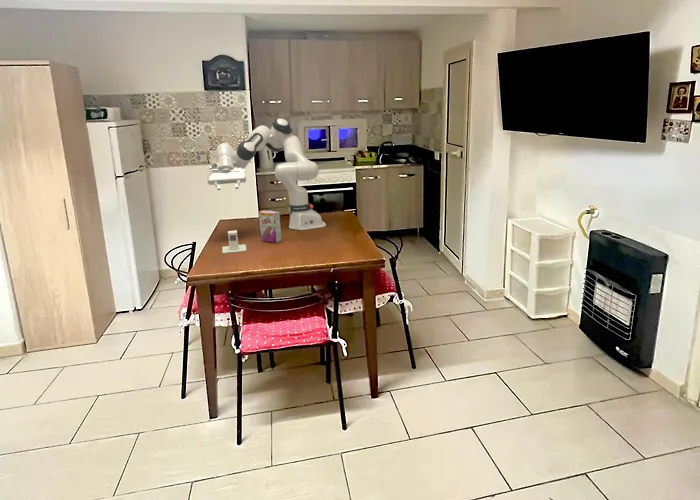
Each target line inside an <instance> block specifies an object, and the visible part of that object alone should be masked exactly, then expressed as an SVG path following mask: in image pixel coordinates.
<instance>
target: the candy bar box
mask: <svg viewBox="0 0 700 500" xmlns="http://www.w3.org/2000/svg"><path fill="white" fill-rule="evenodd" d="M257 213H258V221H259V222H258V223H259V233H260V241H261V242H267V243H275V244H277V243H279V242H282V239H283V238H282V229H281V217H280V216H281V215H280V211H272V210H261V211H258V212H257Z"/></svg>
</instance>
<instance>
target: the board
mask: <svg viewBox="0 0 700 500" xmlns="http://www.w3.org/2000/svg"><path fill="white" fill-rule="evenodd" d="M238 246H239V249H236V250H230V247H229V245H227V246H222V254H232V253H241V252H247V245H246V244H238Z"/></svg>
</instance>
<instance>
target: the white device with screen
mask: <svg viewBox="0 0 700 500" xmlns="http://www.w3.org/2000/svg"><path fill="white" fill-rule="evenodd" d="M227 236H228V244H229V245H228V246H229V247H230V250H236V249H239V246H238V245H239V240H238V239H239V238H238V230H237V229H235V230H229V231H227Z"/></svg>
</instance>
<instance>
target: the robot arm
mask: <svg viewBox="0 0 700 500" xmlns="http://www.w3.org/2000/svg"><path fill="white" fill-rule="evenodd" d="M292 133H293V129H292V128H291V124H290V123H289V121H288V120H287V119H285V118H283V117H278V118H275V119H274V121H273V123H272V126H271V128H269V127H268V126H267V125H259V126H257V127H255V128H254V129H253V130H252V131H251V132H250V133H249V135H248V136H247V138H246V140H245V141H241V142H240V143H239V144H238V146H237V147H236V149H234V148H233V147H232V146H231V144H230V143H229V142H223V143H220V144H218V145H217V147H216V150H215V151H216V152H215V155H216V156H215V157H216V161H217V162H216V163H213V164H211V165H209V166H208V171H207V179H206V180H207V183H208V185H210V186H212V185H214V187H215V188H216V190H217V191H221V186H220V185H226V184H227V185H228V184H235V190H239V187H240V184H241V183H246V182H247V176H246V172H247V171H246V167H247V166H248V165H249V164H250V162H251V160H252V159H254V157H255V156H256V153H257V152H258V151H260V150H262V149H263V148H265V146H266V147H267V148H268V149H269V150H270V151H271V152H275V153H278V152H279V153H280V152H281V151H284V158H285V161H286V162H281V163H279V164H277V165H275V169H274V177H275V178H276V180H278V181H279V182H280V183H282V184H283V185H284V187H285V188H286V190H287V194H288V199H289V204H288V212H289V224H288V228H289V229H291V230H298V231H306V230H307V231H308V230H315V229H320V228H325V227H326V226H327V224H326V222H325V221H324V220H323V219H322V216H321V215H320V213H318V212H317V211H316V210H313V208H314V205H313V204H312V203H309V196H308V190H307V189H306V188H305V187H304V186H301V185H298V184H297V182H298V181H299V182H301V181H310V180H314V179H316V178H317V177H318V175H319V170H320V169H319V167H318V164H317V163H316V162H315V161H311V160H309V159H308V157H306V156H305V154H304V151H303V147H302V143H301V141H300V139H299V137H298V136H297V135H293V134H292Z"/></svg>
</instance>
